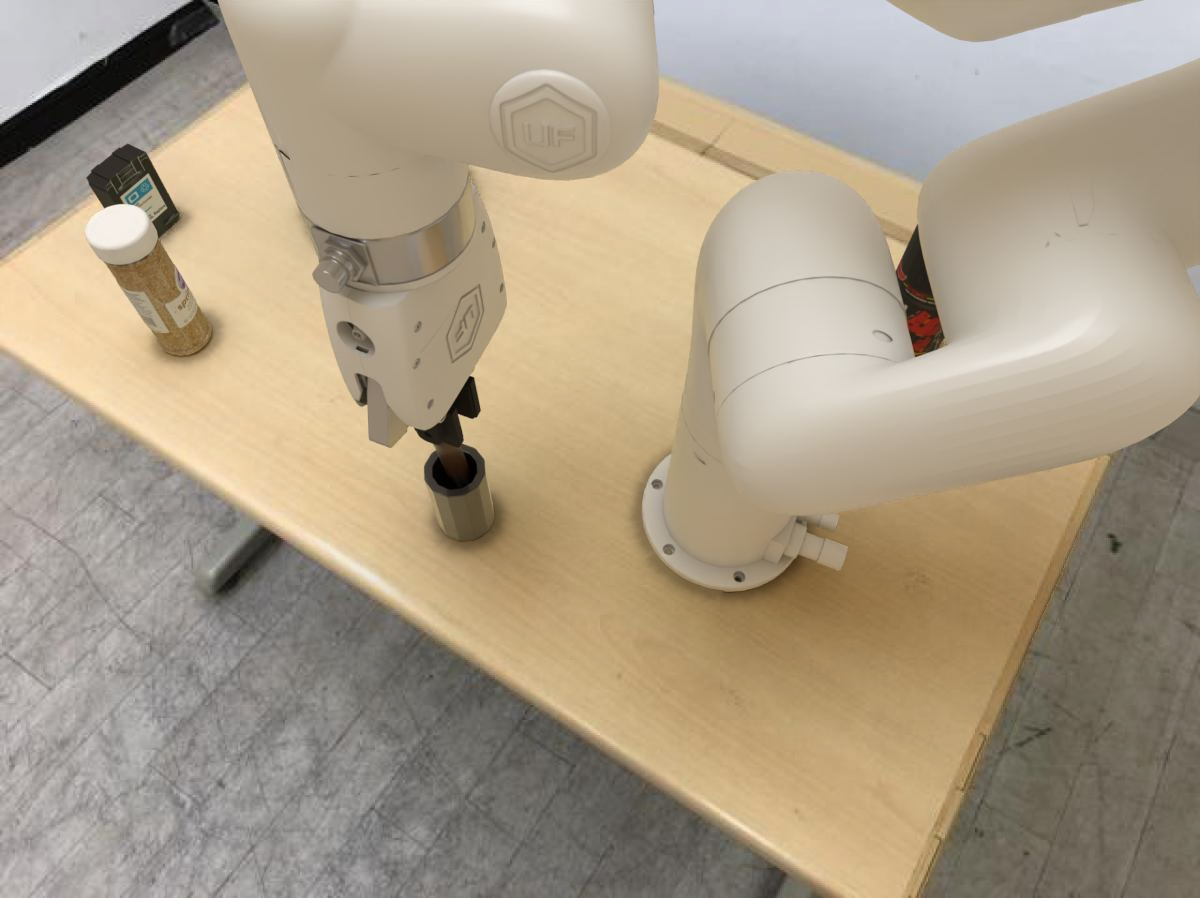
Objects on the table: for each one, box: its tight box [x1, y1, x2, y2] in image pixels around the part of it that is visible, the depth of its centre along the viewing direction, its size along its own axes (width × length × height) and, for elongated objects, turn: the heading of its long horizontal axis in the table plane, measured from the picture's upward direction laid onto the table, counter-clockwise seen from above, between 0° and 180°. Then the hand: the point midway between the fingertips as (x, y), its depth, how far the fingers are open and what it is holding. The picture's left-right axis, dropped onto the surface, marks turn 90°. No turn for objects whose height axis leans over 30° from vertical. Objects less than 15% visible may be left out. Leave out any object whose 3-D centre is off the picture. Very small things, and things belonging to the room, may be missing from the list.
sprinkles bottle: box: [84, 204, 213, 357], centre depth 70 cm, size 5×5×14 cm
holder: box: [423, 442, 495, 542], centre depth 64 cm, size 4×4×8 cm
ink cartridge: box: [85, 143, 181, 239], centre depth 78 cm, size 5×2×8 cm, turn 150°
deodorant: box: [895, 223, 945, 357], centre depth 71 cm, size 6×6×15 cm
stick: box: [432, 442, 474, 489], centre depth 58 cm, size 2×2×16 cm
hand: (448, 421), depth 55 cm, fingers closed on stick, 1 cm apart
